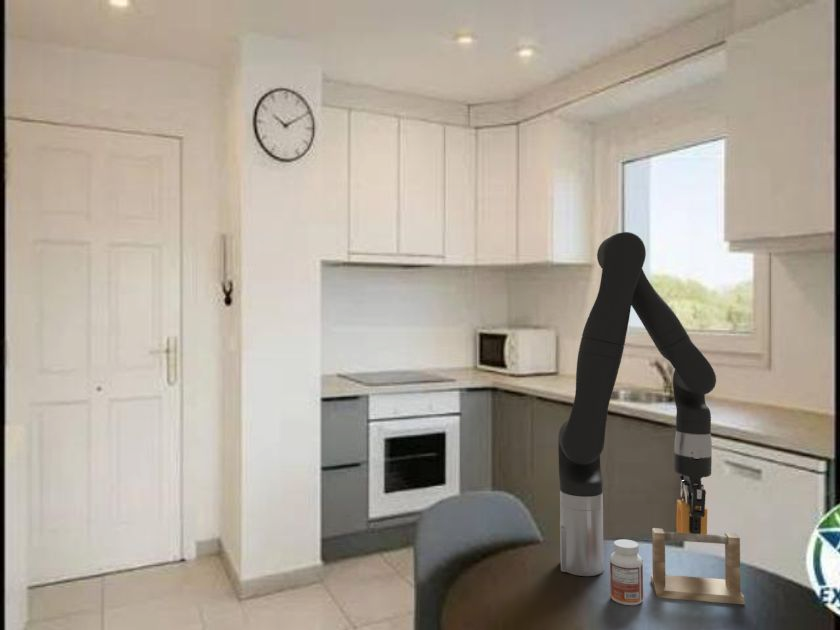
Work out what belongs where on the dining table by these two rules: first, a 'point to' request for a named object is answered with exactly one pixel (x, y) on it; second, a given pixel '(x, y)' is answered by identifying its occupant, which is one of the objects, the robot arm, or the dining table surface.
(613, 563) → the pill bottle
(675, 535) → the rack
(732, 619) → the dining table surface
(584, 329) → the robot arm
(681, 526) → the notched orange block
